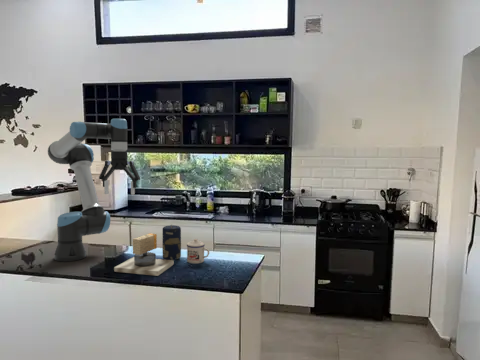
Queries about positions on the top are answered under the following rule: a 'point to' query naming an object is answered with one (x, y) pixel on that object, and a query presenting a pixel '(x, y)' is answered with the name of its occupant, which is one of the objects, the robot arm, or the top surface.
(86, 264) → the top surface
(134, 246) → the yellow block on stand
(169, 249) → the canister
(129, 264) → the base plate
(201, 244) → the teacup with lid
